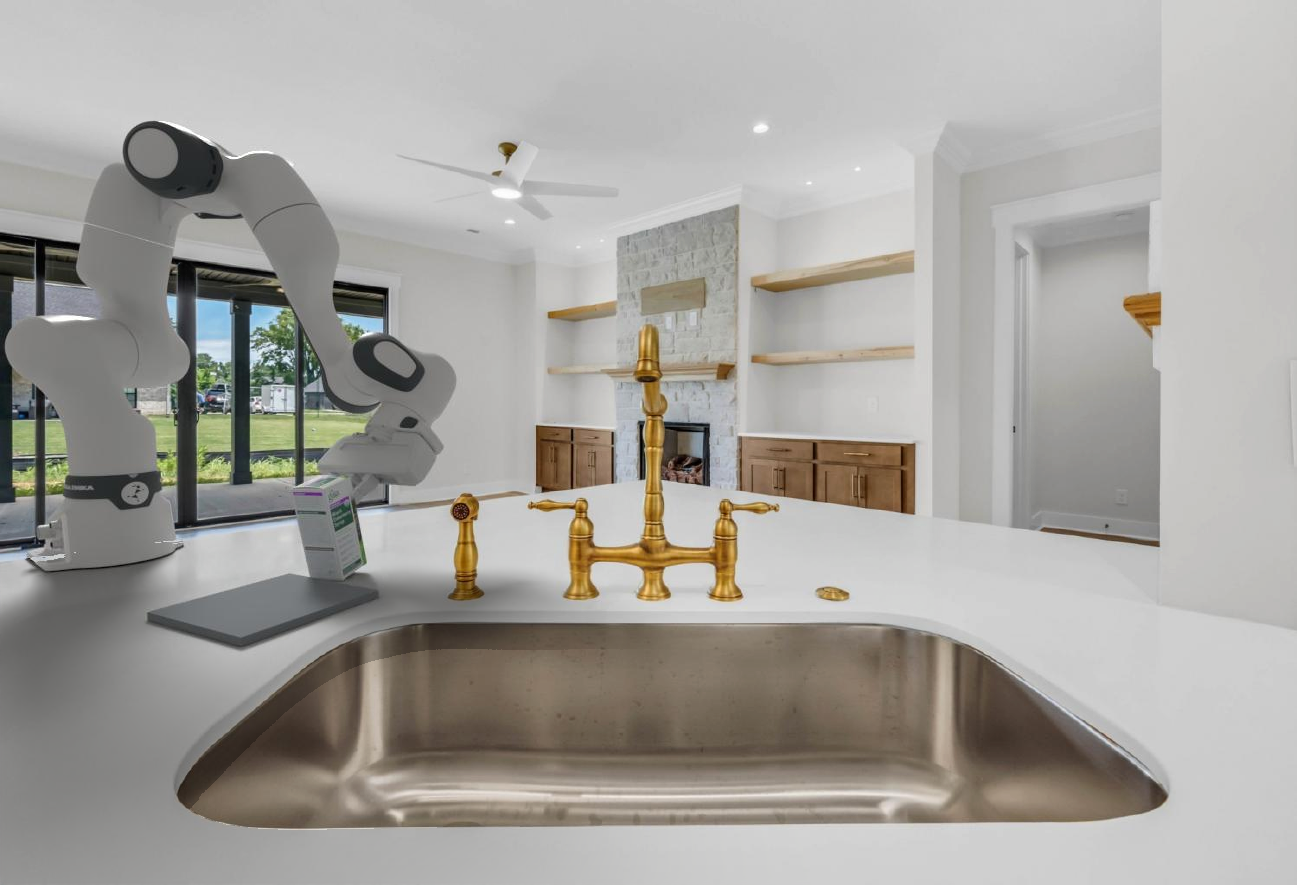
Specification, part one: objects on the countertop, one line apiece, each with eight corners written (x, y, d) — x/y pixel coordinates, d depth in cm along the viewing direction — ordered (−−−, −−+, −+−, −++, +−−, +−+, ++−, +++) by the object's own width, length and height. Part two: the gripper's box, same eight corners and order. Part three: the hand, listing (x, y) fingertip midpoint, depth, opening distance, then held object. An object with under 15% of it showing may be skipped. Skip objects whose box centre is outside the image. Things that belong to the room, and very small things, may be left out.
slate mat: (147, 620, 74) (146, 611, 74) (289, 579, 90) (289, 573, 90) (241, 646, 66) (240, 637, 66) (378, 597, 82) (378, 590, 82)
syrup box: (342, 581, 89) (325, 488, 86) (307, 579, 91) (289, 486, 87) (367, 563, 95) (352, 474, 91) (334, 561, 96) (317, 473, 92)
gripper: (338, 420, 103) (286, 485, 95) (431, 421, 95) (383, 492, 87) (361, 445, 108) (313, 509, 100) (452, 447, 99) (408, 518, 91)
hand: (346, 501), depth 93 cm, fingers closed
